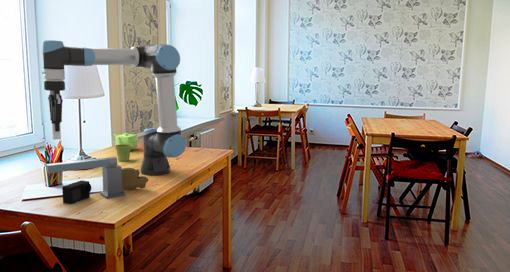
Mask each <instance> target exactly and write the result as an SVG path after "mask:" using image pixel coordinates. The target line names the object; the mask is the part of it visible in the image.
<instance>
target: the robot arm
mask: <svg viewBox="0 0 510 272" xmlns="http://www.w3.org/2000/svg"><path fill="white" fill-rule="evenodd" d="M41 53H42V62H43V66H42V67H43V71H42V72H41V74H42V75H43V79H44V81H43V89H44V90H45V91H49V95H48V97H47V100H48V107H49V116H50V121H51V122H50V123H51V126H52V127H51V128H52V129H51V130H52V140H62V133H61V123H62V122H63V119H62V118H63V96H62V95H61V91H66V82H65V79H66V77H65V75H66V72H65V71H66V70H65V66H72V67H74V66H76V67H92V66H132V67H133V68H144V69H150V70H151V75H152V76H153V77H154V78H155V88H156V99H157V100H156V101H157V112H158V113H157V114H158V125H159V126H158V127H152V128H151V127H150V128H145V129H144V130H143V135H142V138H143V160H142V162H141V164H140V165H141V166H140V169H139V172H140V174H142V175H146V176H160V175H161V176H162V175H166V174H170V172H171V166H170V163H169V160H168V158H173V159H174V158H178V157H179V156H182V154H183V153H184V152H185V150H186V148H187V139H186V138H185V137H184V136H183V135H182V130H181V127H180V126H178V117H177V102H176V92H175V76H176V74H177V73H178V72H177V71H178V70H177V68H178V67H179V65H180V63H181V54H180V52H179V51H178V49H177V48H176V47H175V46H173V45H171V44H166V43H162V44H149V45H142V46H132V47H130V48H114V47H113V48H110V47H107V48H105V47H103V48H102V47H86V46H84V47H83V46H82V47H81V46H79V47H78V46H65V44H64V42H63V41H62V40H51V39H50V40H49V39H47V40H46V39H45V40H43V42H42V51H41Z"/></svg>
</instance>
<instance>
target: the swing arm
mask: <svg viewBox="0 0 510 272" xmlns="http://www.w3.org/2000/svg"><path fill="white" fill-rule="evenodd" d="M116 165H118V156H107V157H100V158H93V159H83V160H75V161H73V160H72V161H65V162H54V163H46V165H45V167H46V168H45V169H46V170H45V171H46V173H47V174H53V173H54V174H55V173H64V172H72V171H80V170H88V169H97V168H102V167H106V166H116Z"/></svg>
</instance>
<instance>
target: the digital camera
mask: <svg viewBox="0 0 510 272" xmlns="http://www.w3.org/2000/svg"><path fill="white" fill-rule="evenodd" d="M61 188H62V203H63V204H67V205H73V204H77V203H79V202H82V201H84V200H86V199H89V198H90V197H91V195H90V194H91V191H92V185H91V183H90V181H89V180H79V181H75V182H72V183H69V184H66V185H63V186H62V187H61Z"/></svg>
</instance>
